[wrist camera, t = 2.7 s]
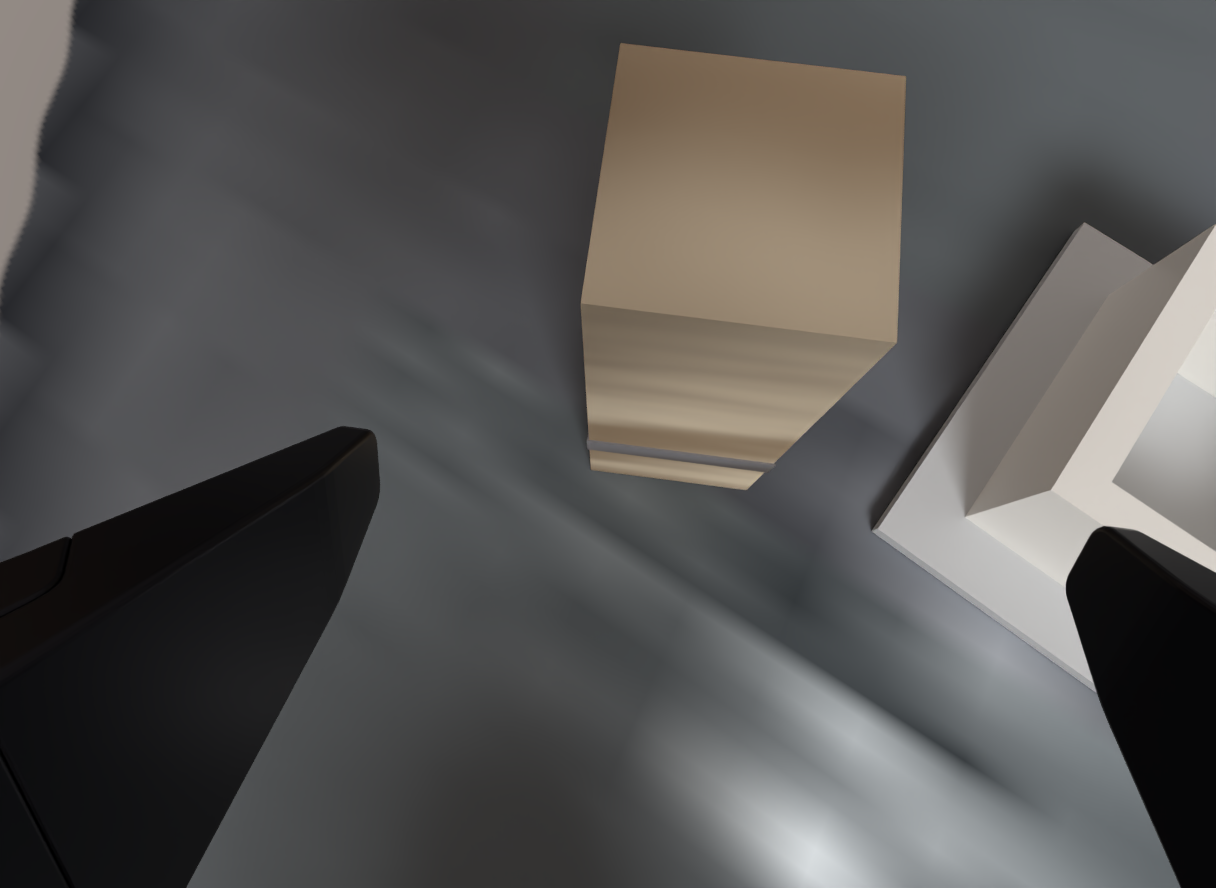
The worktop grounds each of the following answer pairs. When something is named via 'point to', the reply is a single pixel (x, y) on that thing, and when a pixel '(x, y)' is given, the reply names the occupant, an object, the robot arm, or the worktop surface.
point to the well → (1074, 438)
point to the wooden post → (736, 259)
